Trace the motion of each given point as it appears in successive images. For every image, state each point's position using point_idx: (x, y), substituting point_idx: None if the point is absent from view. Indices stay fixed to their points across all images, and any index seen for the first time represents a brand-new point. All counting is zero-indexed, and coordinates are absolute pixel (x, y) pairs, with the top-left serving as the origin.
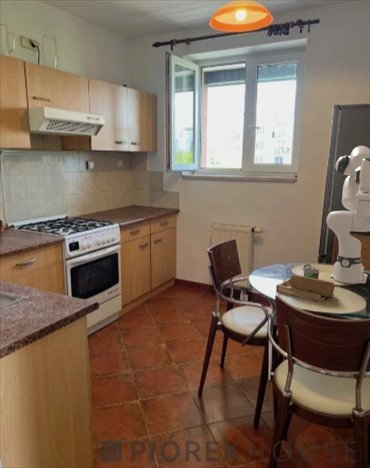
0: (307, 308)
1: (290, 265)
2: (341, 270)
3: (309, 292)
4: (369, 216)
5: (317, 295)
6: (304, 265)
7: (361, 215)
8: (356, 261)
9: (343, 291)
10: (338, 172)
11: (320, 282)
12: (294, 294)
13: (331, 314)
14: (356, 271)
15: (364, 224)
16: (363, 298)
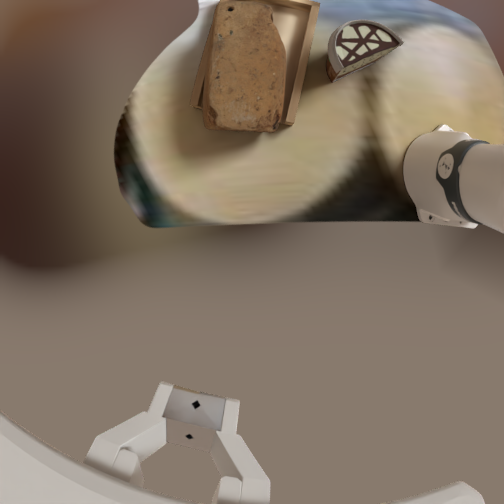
0: (139, 95)
1: (474, 31)
2: (432, 152)
3: (201, 72)
4: (214, 499)
5: (192, 97)
6: (376, 23)
7: None
8: (454, 206)
9: (327, 159)
10: None
11: (206, 90)
12: None
13: (129, 154)
14: (434, 201)
15: (160, 390)
16: (288, 217)
